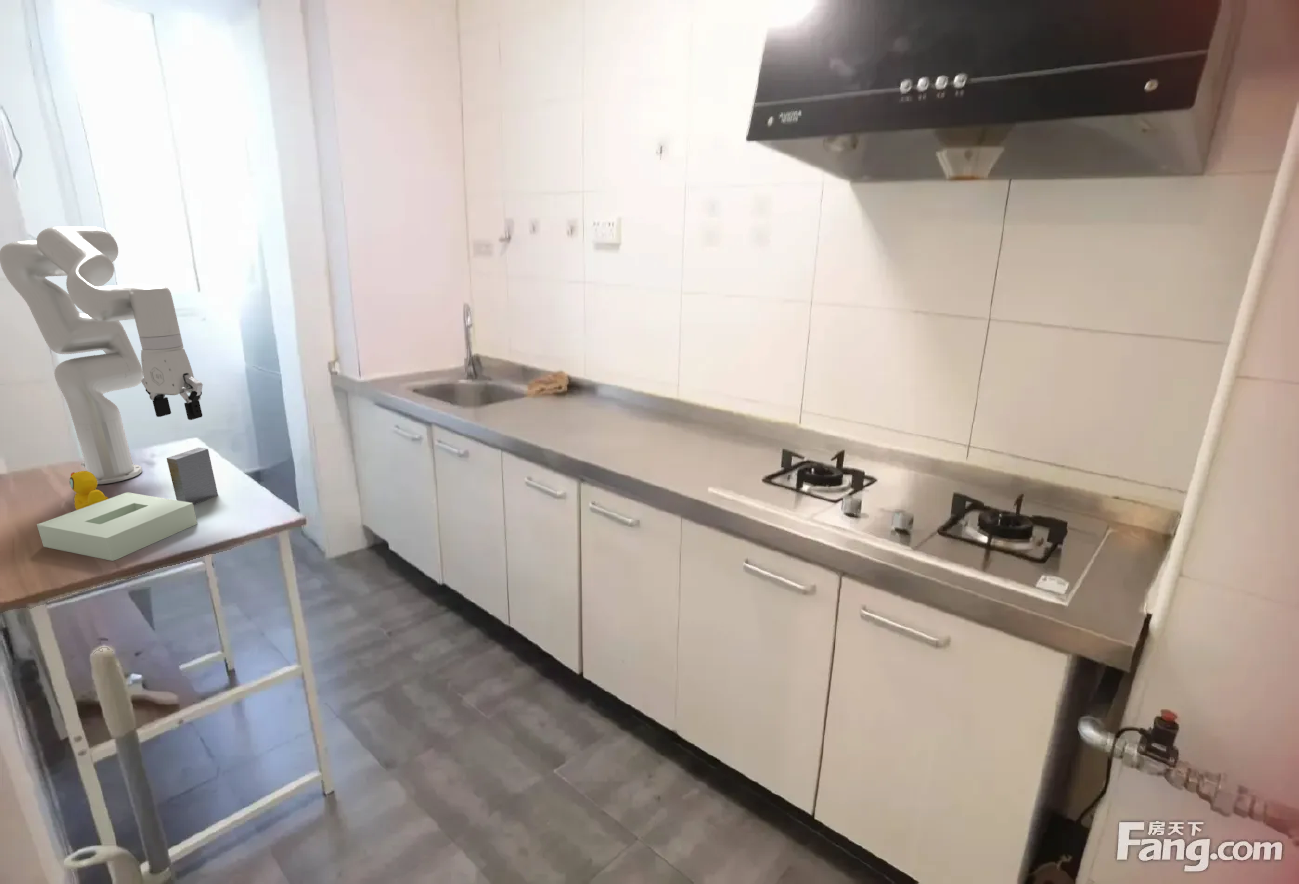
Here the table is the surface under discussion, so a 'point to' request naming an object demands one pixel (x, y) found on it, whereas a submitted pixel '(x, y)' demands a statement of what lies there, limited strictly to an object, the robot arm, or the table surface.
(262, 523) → the table surface
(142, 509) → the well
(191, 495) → the brushed metal pillar
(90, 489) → the duckling
